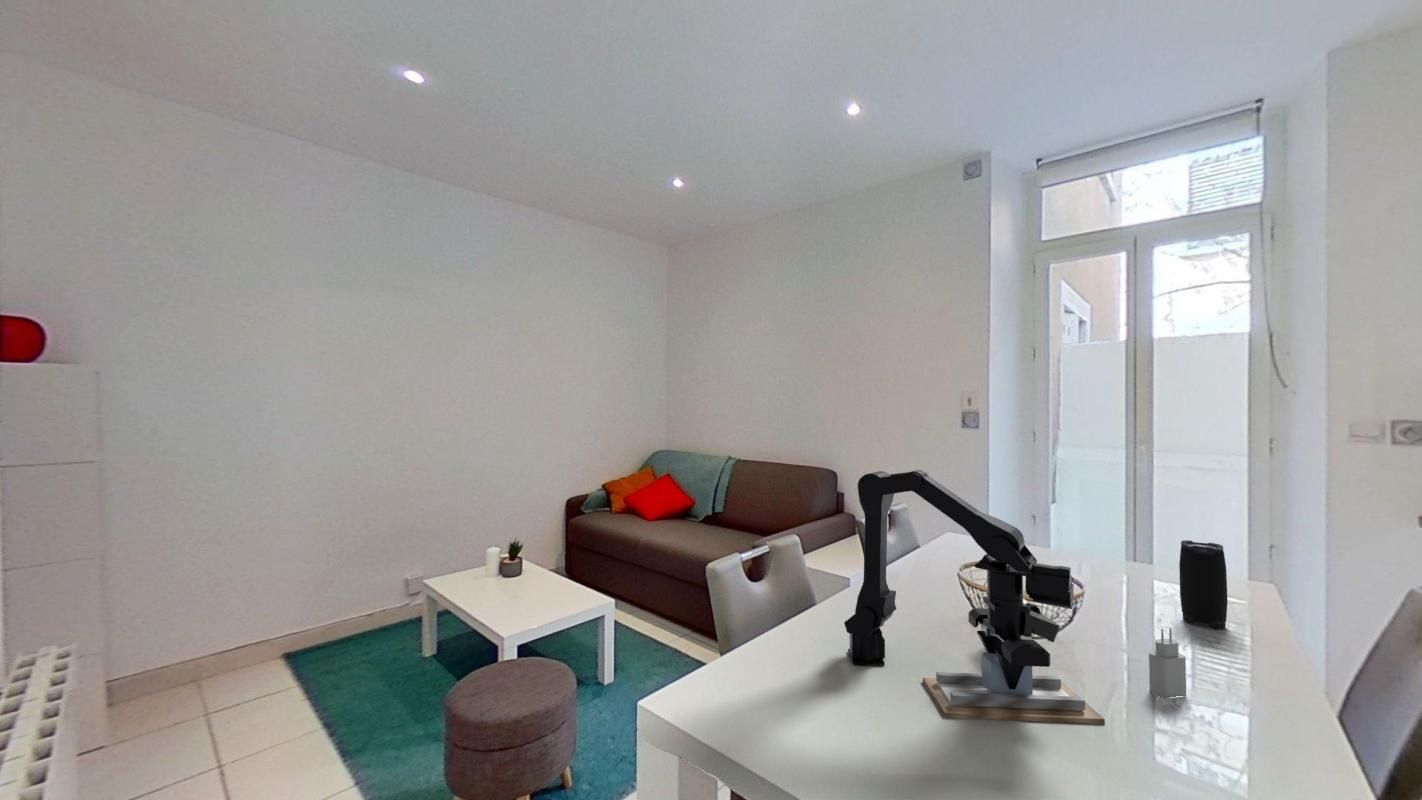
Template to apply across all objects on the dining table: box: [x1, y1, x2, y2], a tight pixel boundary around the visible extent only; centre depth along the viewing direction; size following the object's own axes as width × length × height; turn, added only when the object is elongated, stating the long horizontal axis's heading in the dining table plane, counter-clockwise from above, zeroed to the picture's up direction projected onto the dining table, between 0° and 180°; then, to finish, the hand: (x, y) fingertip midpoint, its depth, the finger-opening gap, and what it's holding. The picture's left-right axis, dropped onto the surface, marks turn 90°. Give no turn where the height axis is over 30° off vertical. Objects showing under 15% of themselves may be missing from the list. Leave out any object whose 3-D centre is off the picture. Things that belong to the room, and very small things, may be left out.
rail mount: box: [922, 671, 1106, 725], centre depth 96 cm, size 26×12×3 cm, turn 85°
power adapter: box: [1148, 627, 1187, 699], centre depth 98 cm, size 3×5×12 cm, turn 101°
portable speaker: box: [1178, 539, 1228, 630], centre depth 130 cm, size 9×9×20 cm
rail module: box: [981, 652, 1033, 695], centre depth 96 cm, size 7×4×6 cm, turn 85°
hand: (1006, 682), depth 96 cm, fingers closed on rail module, 4 cm apart
